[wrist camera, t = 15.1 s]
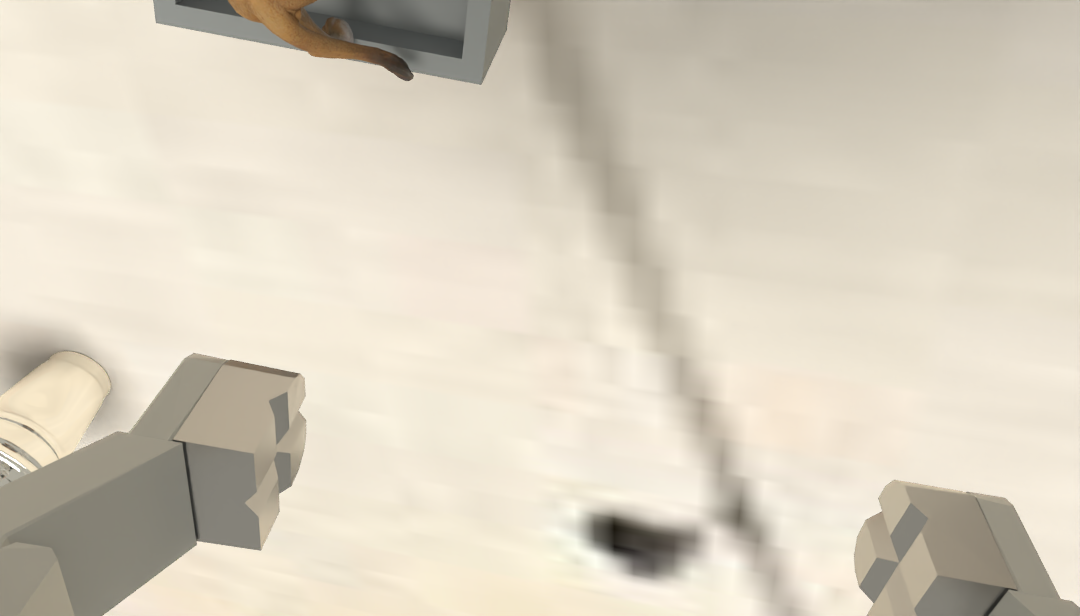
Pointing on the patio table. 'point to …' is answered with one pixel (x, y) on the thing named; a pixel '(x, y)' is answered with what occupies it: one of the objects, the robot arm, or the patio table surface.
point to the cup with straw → (49, 412)
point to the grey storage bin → (376, 29)
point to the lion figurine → (316, 33)
